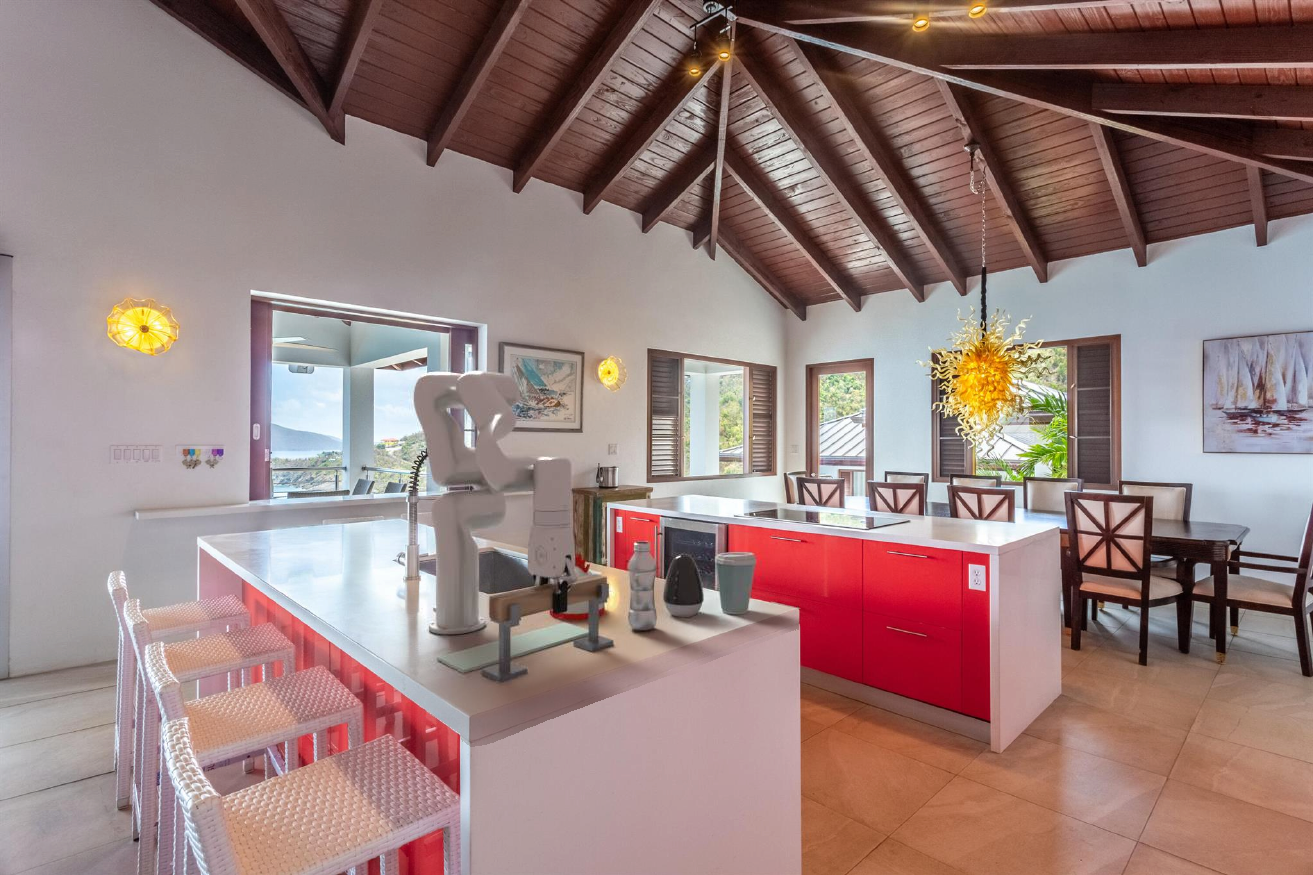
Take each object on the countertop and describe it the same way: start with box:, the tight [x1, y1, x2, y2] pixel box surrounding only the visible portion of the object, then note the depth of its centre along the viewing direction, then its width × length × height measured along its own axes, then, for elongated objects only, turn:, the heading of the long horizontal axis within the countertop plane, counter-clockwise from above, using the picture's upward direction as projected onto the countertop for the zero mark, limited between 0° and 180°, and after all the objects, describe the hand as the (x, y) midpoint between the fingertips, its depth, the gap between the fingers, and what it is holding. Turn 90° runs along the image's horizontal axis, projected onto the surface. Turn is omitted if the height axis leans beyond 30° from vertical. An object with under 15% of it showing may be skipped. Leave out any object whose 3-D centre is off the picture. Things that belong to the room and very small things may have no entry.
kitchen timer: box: [549, 552, 606, 621], centre depth 155 cm, size 14×14×15 cm
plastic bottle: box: [627, 540, 658, 631], centre depth 141 cm, size 6×7×20 cm
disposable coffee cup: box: [714, 551, 757, 615], centre depth 156 cm, size 11×11×15 cm
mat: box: [436, 622, 589, 674], centre depth 129 cm, size 10×32×1 cm, turn 137°
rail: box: [488, 573, 608, 622], centre depth 122 cm, size 4×26×4 cm, turn 137°
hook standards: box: [481, 582, 615, 684], centre depth 122 cm, size 7×28×14 cm, turn 137°
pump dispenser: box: [662, 553, 705, 618], centre depth 153 cm, size 10×10×15 cm
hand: (552, 609), depth 122 cm, fingers open, 4 cm apart
